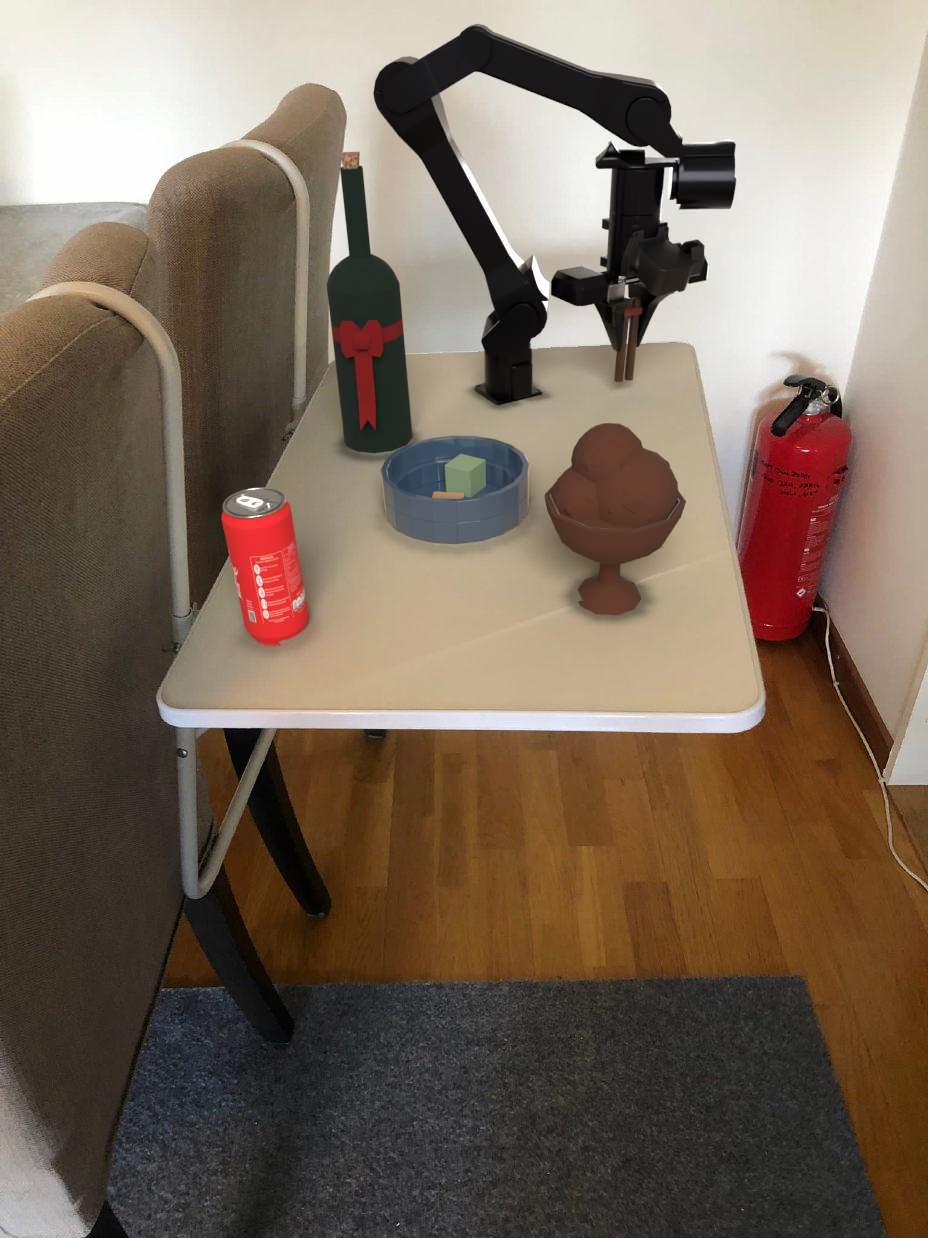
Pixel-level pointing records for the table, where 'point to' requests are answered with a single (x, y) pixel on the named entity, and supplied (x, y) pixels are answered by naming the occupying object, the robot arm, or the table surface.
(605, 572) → the ice cream bowl
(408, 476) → the bowl
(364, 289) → the wine bottle
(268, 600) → the beverage can
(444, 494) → the beech block
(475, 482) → the sage block
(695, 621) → the table surface
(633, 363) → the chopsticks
